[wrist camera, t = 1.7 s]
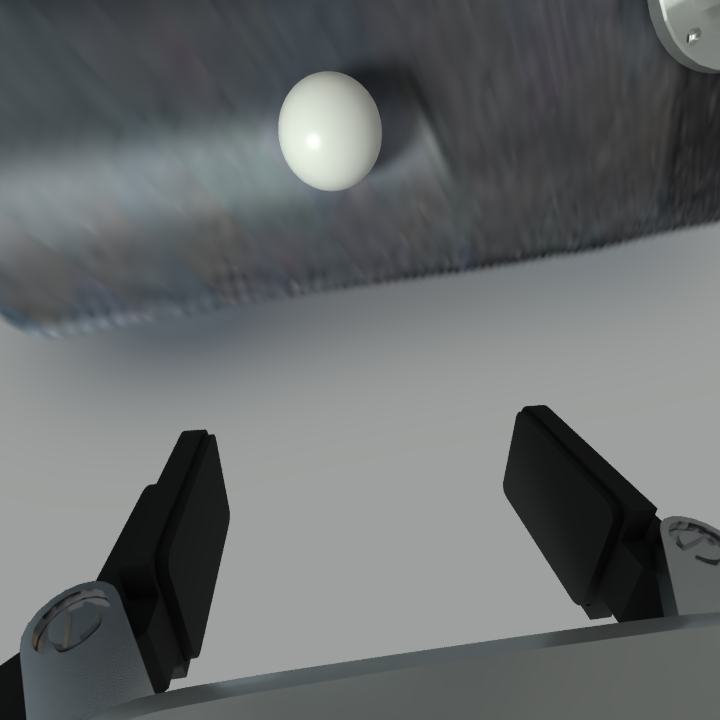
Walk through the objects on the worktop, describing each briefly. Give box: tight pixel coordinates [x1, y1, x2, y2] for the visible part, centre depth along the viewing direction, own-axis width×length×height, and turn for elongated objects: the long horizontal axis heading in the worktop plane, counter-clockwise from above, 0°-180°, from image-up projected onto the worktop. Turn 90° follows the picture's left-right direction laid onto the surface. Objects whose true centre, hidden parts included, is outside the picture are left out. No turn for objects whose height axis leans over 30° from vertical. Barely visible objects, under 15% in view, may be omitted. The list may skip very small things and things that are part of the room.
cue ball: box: [278, 71, 382, 191], centre depth 21 cm, size 6×6×6 cm
